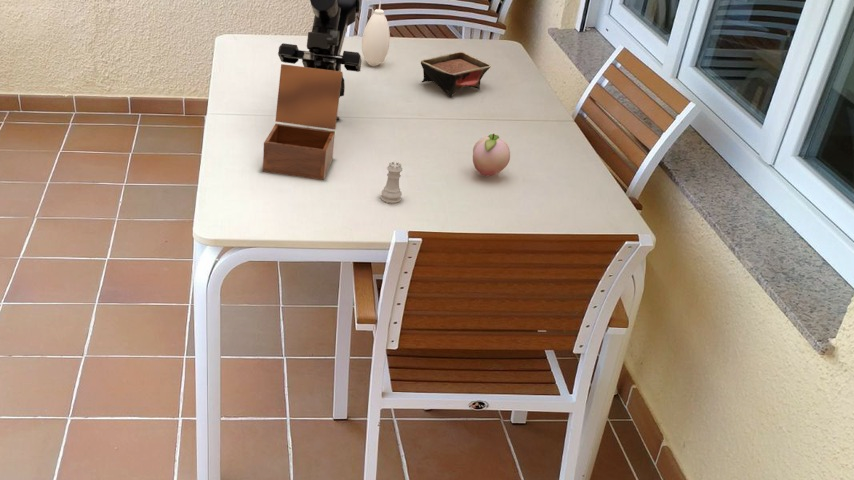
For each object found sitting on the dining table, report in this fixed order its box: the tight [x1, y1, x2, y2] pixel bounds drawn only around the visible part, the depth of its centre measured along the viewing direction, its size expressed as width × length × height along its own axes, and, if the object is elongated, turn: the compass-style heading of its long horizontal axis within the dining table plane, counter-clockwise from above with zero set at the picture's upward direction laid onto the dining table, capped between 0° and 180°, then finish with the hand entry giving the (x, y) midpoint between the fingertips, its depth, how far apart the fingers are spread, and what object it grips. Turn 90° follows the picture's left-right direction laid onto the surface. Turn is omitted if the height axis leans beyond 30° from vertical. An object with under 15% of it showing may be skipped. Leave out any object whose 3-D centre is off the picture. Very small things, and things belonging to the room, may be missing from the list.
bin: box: [262, 123, 336, 181], centre depth 214 cm, size 12×14×7 cm
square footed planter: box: [420, 51, 492, 98], centre depth 263 cm, size 14×18×10 cm
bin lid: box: [275, 63, 343, 130], centre depth 214 cm, size 12×14×1 cm
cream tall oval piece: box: [361, 0, 391, 67], centre depth 272 cm, size 8×8×18 cm
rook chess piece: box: [380, 161, 403, 205], centre depth 202 cm, size 4×4×8 cm
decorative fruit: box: [472, 133, 511, 177], centre depth 214 cm, size 9×8×10 cm
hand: (314, 94), depth 222 cm, fingers closed
